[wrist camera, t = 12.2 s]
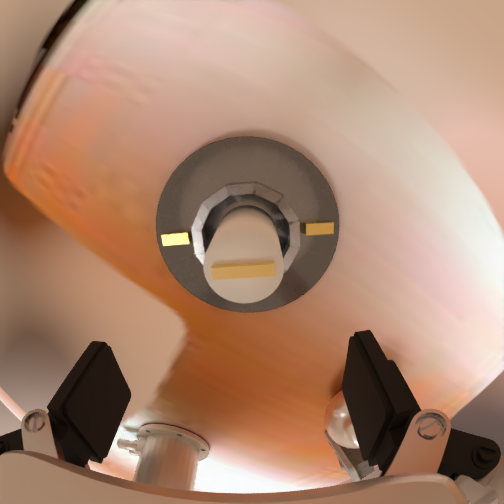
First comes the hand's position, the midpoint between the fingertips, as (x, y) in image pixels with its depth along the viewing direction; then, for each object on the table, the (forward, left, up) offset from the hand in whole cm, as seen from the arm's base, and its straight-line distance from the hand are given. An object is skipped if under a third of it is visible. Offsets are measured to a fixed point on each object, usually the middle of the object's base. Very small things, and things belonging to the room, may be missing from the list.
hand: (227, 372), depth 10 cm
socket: (0, +1, -16) cm, 16 cm away
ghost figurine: (+12, -22, -17) cm, 30 cm away
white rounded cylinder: (0, 0, -15) cm, 15 cm away
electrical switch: (+13, -35, -17) cm, 41 cm away
